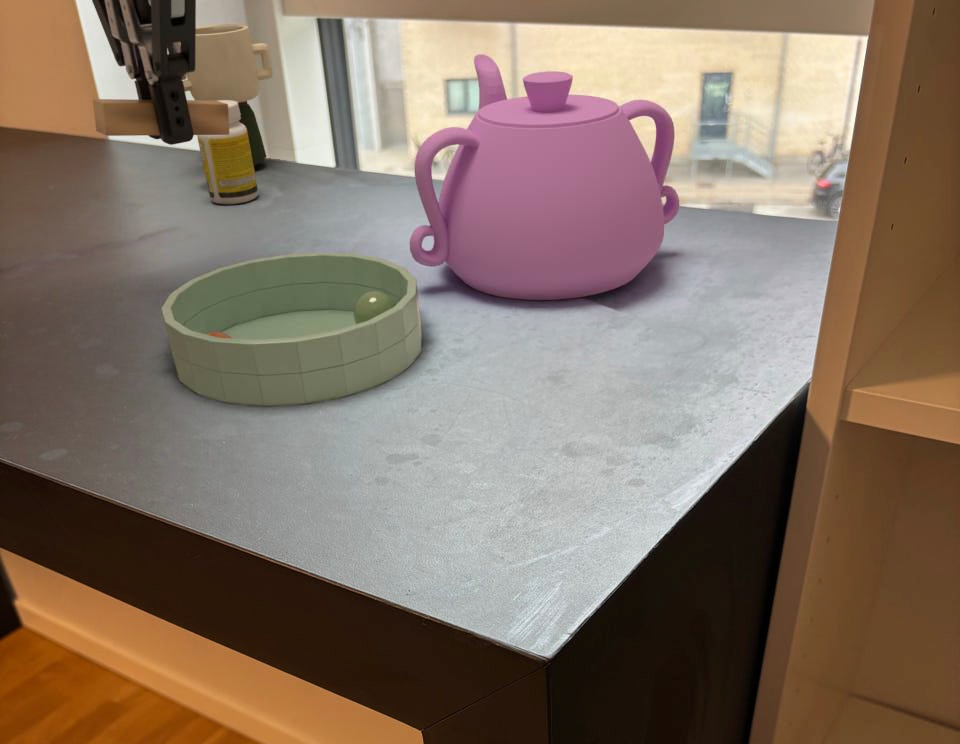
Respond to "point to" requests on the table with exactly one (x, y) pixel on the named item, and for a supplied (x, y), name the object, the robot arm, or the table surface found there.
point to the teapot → (546, 191)
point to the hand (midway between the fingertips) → (170, 138)
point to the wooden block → (141, 117)
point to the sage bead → (371, 305)
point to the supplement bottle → (229, 162)
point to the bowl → (292, 329)
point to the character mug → (230, 73)
